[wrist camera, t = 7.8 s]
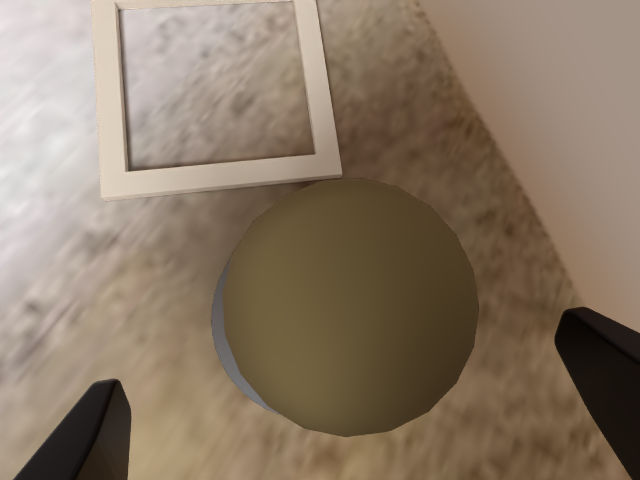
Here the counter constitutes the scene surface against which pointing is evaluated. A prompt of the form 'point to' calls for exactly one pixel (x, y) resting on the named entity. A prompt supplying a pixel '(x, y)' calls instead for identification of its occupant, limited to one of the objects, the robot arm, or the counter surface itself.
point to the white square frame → (211, 176)
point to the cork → (350, 307)
